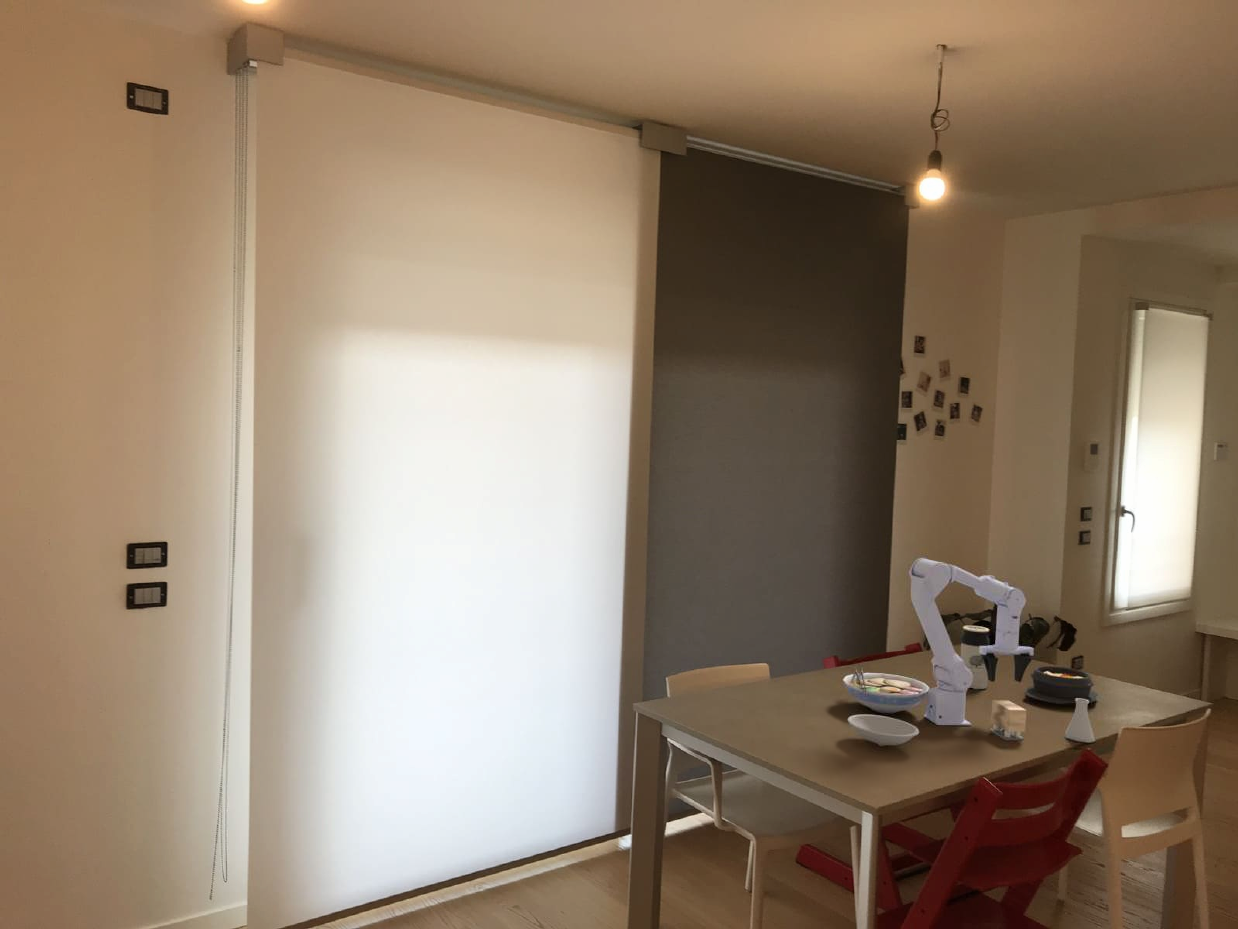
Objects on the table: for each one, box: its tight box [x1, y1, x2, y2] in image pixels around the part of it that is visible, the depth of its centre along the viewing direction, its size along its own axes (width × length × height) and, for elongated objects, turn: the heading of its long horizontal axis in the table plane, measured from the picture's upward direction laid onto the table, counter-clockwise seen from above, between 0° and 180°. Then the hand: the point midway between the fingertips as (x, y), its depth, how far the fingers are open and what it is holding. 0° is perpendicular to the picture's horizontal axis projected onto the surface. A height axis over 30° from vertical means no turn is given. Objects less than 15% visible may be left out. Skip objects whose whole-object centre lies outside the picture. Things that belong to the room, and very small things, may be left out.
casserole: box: [1023, 665, 1099, 706], centre depth 278 cm, size 25×19×8 cm
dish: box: [847, 714, 920, 747], centre depth 229 cm, size 18×14×5 cm
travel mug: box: [960, 625, 991, 690], centre depth 289 cm, size 8×8×18 cm
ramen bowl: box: [842, 666, 930, 714], centre depth 259 cm, size 25×23×8 cm
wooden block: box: [990, 699, 1027, 733], centre depth 241 cm, size 8×4×6 cm, turn 7°
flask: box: [1064, 698, 1096, 744], centre depth 241 cm, size 7×7×10 cm
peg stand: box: [989, 723, 1025, 741], centre depth 241 cm, size 5×7×2 cm
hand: (1004, 681), depth 255 cm, fingers open, 7 cm apart
